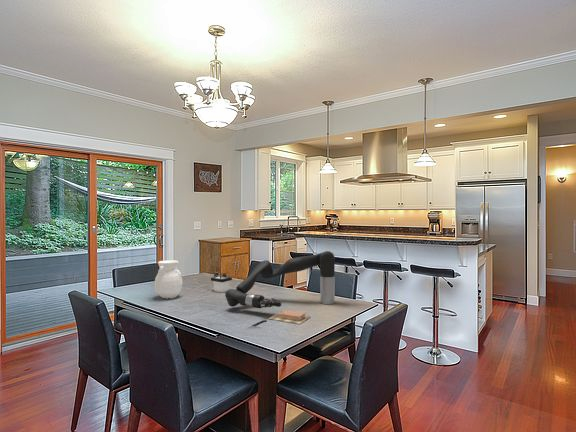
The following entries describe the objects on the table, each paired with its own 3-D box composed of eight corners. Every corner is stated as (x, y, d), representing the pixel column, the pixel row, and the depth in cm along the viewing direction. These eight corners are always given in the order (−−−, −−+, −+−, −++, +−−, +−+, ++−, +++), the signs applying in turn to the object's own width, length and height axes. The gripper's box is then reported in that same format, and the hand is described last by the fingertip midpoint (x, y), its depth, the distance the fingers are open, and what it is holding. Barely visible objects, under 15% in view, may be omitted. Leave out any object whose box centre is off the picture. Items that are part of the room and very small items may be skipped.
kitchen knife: (277, 323, 189) (263, 320, 195) (277, 322, 189) (263, 319, 195) (241, 340, 165) (225, 336, 171) (241, 339, 165) (225, 335, 171)
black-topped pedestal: (246, 290, 270) (246, 272, 270) (222, 297, 248) (222, 278, 248) (220, 285, 285) (219, 269, 285) (194, 292, 263) (194, 274, 263)
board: (268, 319, 196) (268, 318, 196) (280, 312, 208) (280, 311, 208) (299, 324, 187) (299, 323, 187) (310, 317, 199) (310, 316, 199)
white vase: (166, 293, 259) (166, 259, 258) (188, 295, 253) (187, 260, 252) (148, 299, 241) (148, 262, 241) (171, 301, 235) (170, 263, 235)
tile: (278, 313, 196) (299, 316, 190) (284, 309, 203) (305, 312, 197) (278, 317, 196) (299, 321, 190) (284, 314, 204) (305, 317, 197)
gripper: (248, 297, 202) (274, 300, 194) (260, 292, 214) (286, 295, 206) (248, 310, 203) (274, 314, 194) (261, 304, 214) (286, 308, 206)
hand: (280, 304), depth 200 cm, fingers closed
